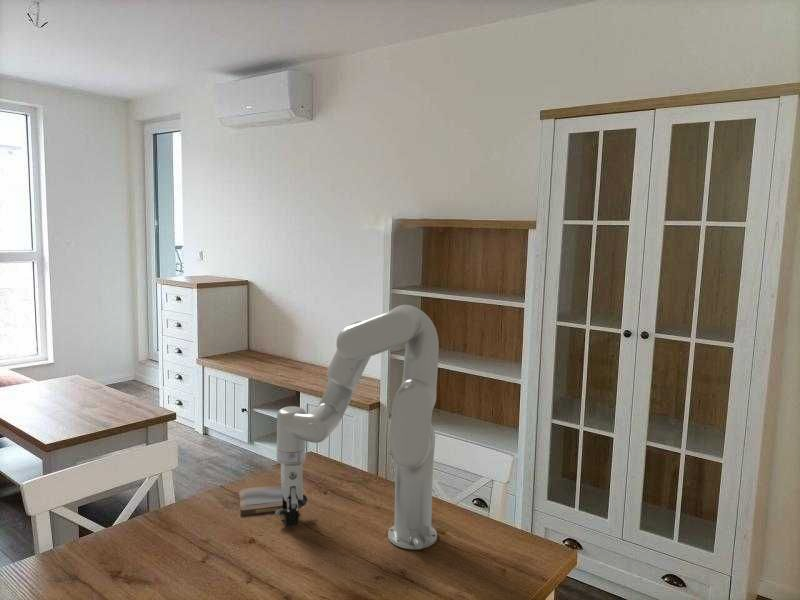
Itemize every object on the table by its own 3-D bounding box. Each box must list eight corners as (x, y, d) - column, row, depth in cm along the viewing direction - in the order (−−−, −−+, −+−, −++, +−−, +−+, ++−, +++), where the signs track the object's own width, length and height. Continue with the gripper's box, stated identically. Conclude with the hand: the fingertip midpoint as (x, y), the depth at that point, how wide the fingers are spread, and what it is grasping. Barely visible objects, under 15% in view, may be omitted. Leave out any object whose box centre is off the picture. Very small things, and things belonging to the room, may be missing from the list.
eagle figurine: (306, 525, 154) (313, 504, 162) (290, 505, 152) (299, 484, 161) (283, 537, 155) (291, 515, 164) (267, 517, 154) (277, 496, 162)
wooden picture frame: (292, 510, 164) (292, 504, 164) (240, 516, 160) (240, 510, 160) (286, 488, 178) (286, 483, 178) (239, 493, 174) (239, 488, 174)
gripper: (309, 465, 147) (308, 531, 149) (301, 441, 164) (300, 501, 166) (279, 468, 145) (278, 534, 147) (273, 443, 162) (273, 503, 164)
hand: (290, 516), depth 157 cm, fingers closed on eagle figurine, 8 cm apart
